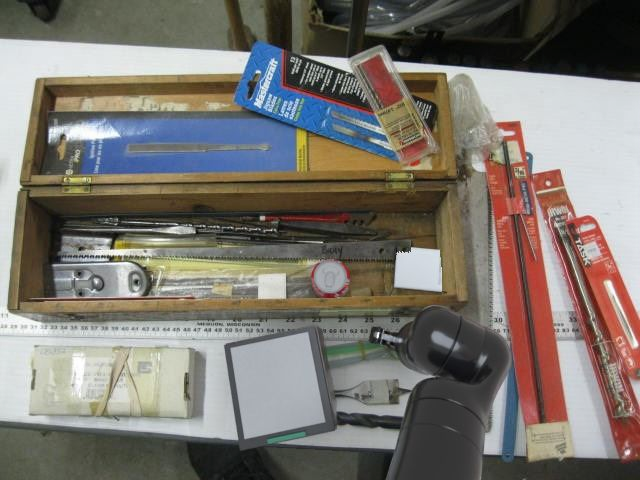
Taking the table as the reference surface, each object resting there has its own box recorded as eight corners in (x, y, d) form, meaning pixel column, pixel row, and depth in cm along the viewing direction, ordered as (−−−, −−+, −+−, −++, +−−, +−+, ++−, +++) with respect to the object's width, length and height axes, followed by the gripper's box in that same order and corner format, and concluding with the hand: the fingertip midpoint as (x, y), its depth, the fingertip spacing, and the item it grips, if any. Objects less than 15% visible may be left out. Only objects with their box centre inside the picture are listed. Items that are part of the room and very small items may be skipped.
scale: (335, 427, 60) (335, 432, 58) (242, 447, 60) (238, 452, 58) (315, 326, 63) (314, 325, 61) (227, 344, 63) (222, 345, 61)
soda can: (351, 269, 90) (353, 259, 78) (346, 305, 89) (347, 299, 77) (315, 264, 91) (312, 253, 79) (310, 300, 89) (306, 294, 77)
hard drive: (395, 247, 91) (458, 253, 90) (393, 287, 89) (456, 294, 88) (396, 245, 89) (460, 251, 89) (394, 286, 88) (459, 293, 87)
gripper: (370, 360, 63) (362, 355, 79) (471, 386, 62) (443, 376, 78) (381, 307, 65) (372, 313, 81) (481, 332, 64) (452, 333, 79)
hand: (407, 344), depth 79 cm, fingers open, 8 cm apart
